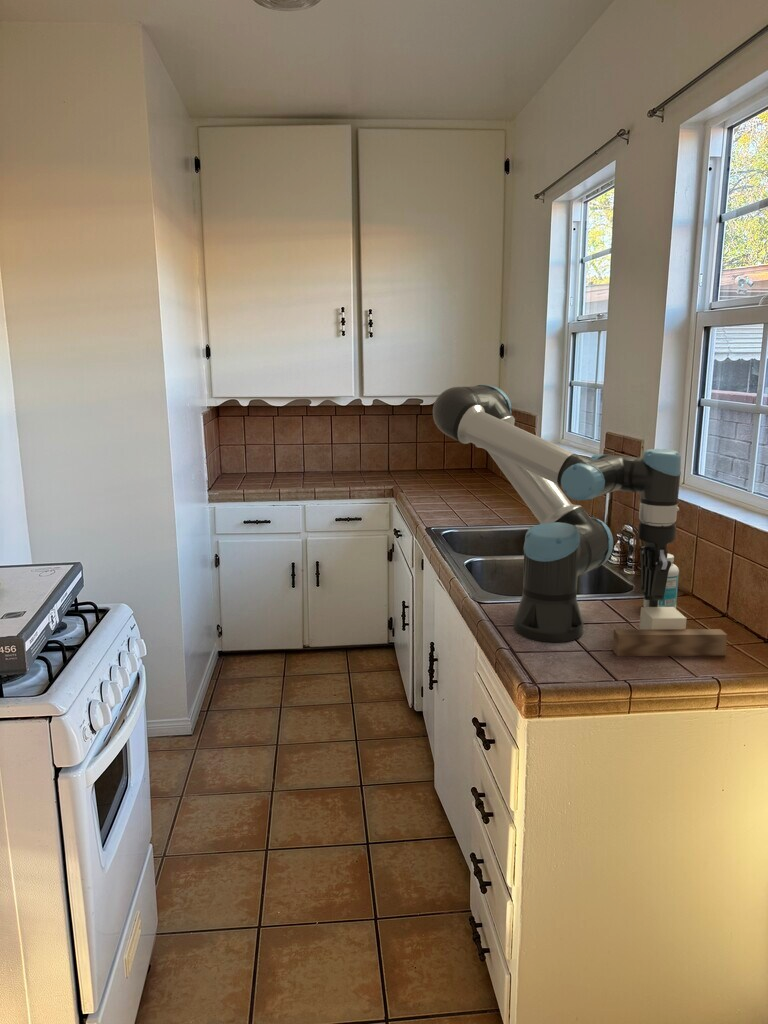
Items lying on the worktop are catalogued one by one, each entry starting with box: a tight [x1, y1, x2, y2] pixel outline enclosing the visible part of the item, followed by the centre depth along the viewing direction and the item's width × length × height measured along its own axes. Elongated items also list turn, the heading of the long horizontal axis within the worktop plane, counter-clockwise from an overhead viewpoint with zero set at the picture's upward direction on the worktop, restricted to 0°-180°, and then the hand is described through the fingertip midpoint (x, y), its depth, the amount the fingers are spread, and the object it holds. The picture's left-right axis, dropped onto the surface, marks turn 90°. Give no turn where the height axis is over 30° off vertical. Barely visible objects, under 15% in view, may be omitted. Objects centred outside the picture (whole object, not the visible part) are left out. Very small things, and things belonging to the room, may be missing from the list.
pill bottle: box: [659, 552, 680, 609], centre depth 175 cm, size 8×7×14 cm
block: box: [639, 606, 688, 629], centre depth 155 cm, size 7×7×7 cm
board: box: [612, 628, 728, 657], centre depth 150 cm, size 22×3×4 cm, turn 90°
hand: (649, 626), depth 161 cm, fingers closed
